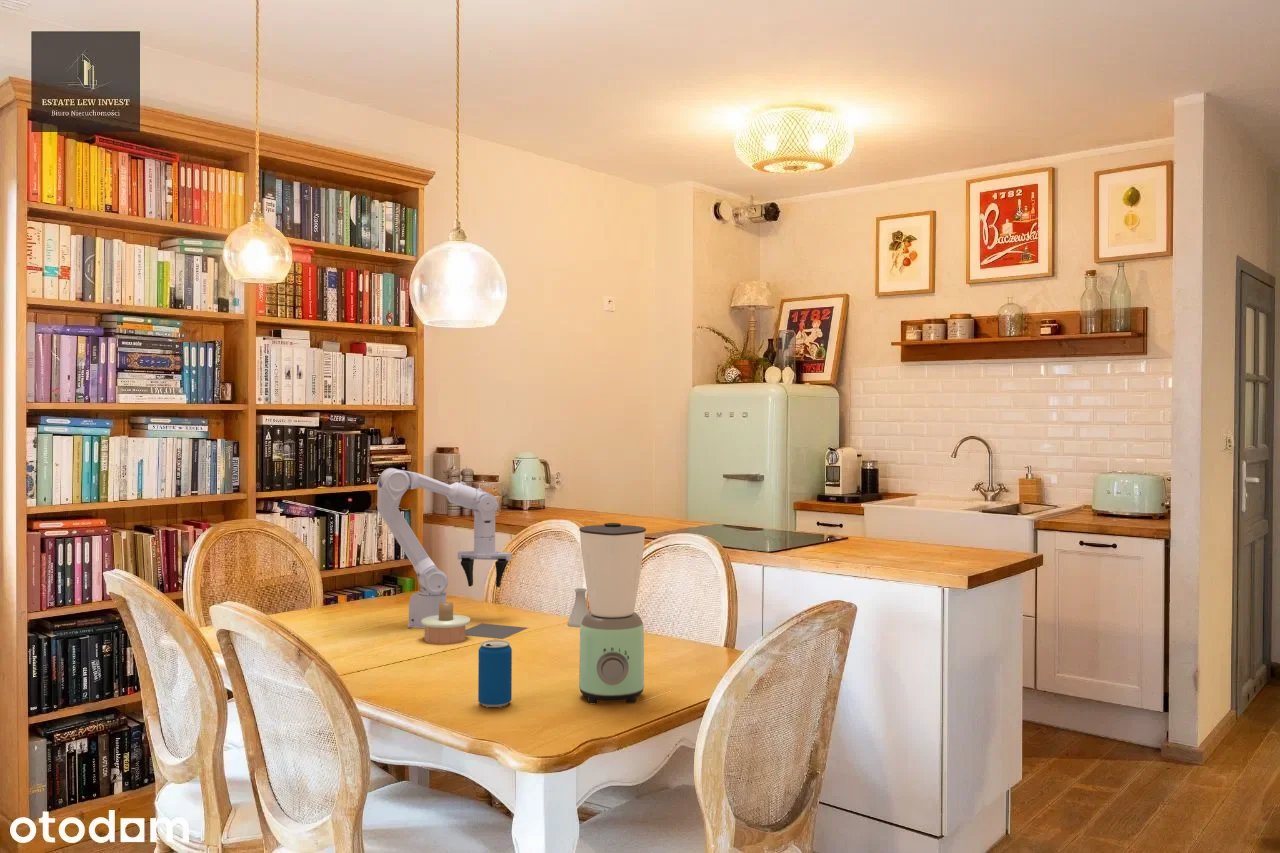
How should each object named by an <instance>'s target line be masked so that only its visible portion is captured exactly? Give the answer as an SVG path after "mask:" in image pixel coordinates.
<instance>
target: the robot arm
mask: <svg viewBox="0 0 1280 853" xmlns="http://www.w3.org/2000/svg"><path fill="white" fill-rule="evenodd" d="M376 486H377V487H376V490H377V495H376V496H377V498H376V499H377V500H376V501H377V504H376V506H377V511H378V512H377V513H378V514H379V515H380V516H381V518H382V520H383V521H384V523H385V524H386V525H387V528H388V529H389V531H390V532H391V533H392V536H393V537H394V539H395V540H396V542H397V543H398V544H399V546H400V548H401V549H402V551H403V552H404V554H405V556H407V559H408V560H409V562H410V564H411V565H412V566H413V567H412V568H413V570H414V571H415V573H416V575H417V576H416V578H417V582H418V584H419V585H420V589H419V590H418V591H417V592H413V593H412V594H411V595H410V598H409V601H408V625H406V628H410V629H411V628H412V629H414V628H417V629H425V626H424V625H422V624H421V620H422V619H423V618H426V617H429V616H435V615H439V603H442V602H447V590H446V589H447V587H448V585H449V579H448V576H447V575H446V573H445V572H443V571H442V570H440V569H439V568H438V566H437V565H436V564H435V562H434V561H433V560H432V559H431V558H430V556H429V554H428V553H427V551H426V550H425V549H424V547H423V545H422V543H421V542H420V540H419V539H418V537H417V536H416V534H415V532H414V531H413V529H412V528H411V526H410V525H409V523H408V521H407V520H406V518H405V517H404V515H403V513H402V512H401V511H400V509H399V506H400V504H401V500H402V497H403V496H404V494H405V493H406V492H407V491H408V490H415V489H423V490H427V491H431V492H433V493H436V494H439V495H443V496H445V497H446V499H447V500H448V502H449V503H451V504H454V505H457V506H460V507H462V508H465V509H468V510H473V511H474V518H473V519H474V520H473V551H470V550H469V551H458V552H457V560H461V561H460V566H461V567H462V570H463V571H464V573H465V577H466V580H467V584H468V587H473V586H474V565H475V564H474V563H475V560H484V561H485V560H486V561H487V560H488V561H489V560H490V561H491V560H493V561H495V572H496V573H495V576H496V577H495V587H496V588H499V587H501V586H502V585H501V584H502V580H503V579H502V578H503V575H504V572H505V570H506V567H507V566H508V563H509V561H512V552H508V551H507V552H506V551H496V511H498V508H499V502H498V500H497V498H496V496H495V495H494V494H492V493H489V492H486V491H485V490H483V489H482V488H479V487H477V488H475V487H471V486H469V485H467V483H466V482H464V481H460V482H457V481H455V482H453V483H452V484H448V483H445V482H443V481H441V480H438V479H435V478H432V477H429V476H427V475H424V474H421V473H418V472H416V471H415V472H414V471H409V470H402V469H398V468H394V467H388V468H386V469H384V470H383V471H382V472H381V474H380V476H379V478H378V481H377V483H376Z"/></svg>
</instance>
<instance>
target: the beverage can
mask: <svg viewBox="0 0 1280 853" xmlns="http://www.w3.org/2000/svg"><path fill="white" fill-rule="evenodd" d="M510 644H511V643H510V641H508V640H504V639H501V640H500V639H494V640H493V639H492V640H490V639H489V640H485V641H482V642H480V647H479V648H478V662H477V664H478V666H477V667H478V668H477V670H478V671H477V672H478V673H477V674H478V677H477V678H478V680H477V681H478V682H477V684H478V686H477V687H478V688H477V690H478V691H477V692H478V693H477V694H478V696H477V700H478V704H481V705H482V707H484V706H486V707H485V708H488V707H499V708H503V707H502V706H504V707H506V706H508V704H509V703H510V702H512V694H513V693H512V690H513V687H512V685H513V684H512V682H513V680H512V679H513V678H512V676H513V674H512V672H513V671H512V670H513V668H512V664H513V663H512V662H513V661H512V659H513V657H512V656H513V649H512V647H511V646H510ZM505 705H506V706H505Z"/></svg>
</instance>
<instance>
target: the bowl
mask: <svg viewBox="0 0 1280 853" xmlns="http://www.w3.org/2000/svg"><path fill="white" fill-rule="evenodd" d="M466 629H467V626H466V625H464V626H459V627H450V628H434V627H427V626H425V628H424V642H426V643H427V644H433V645H451V644H452V645H453V644H459V643H462V642H464V641H466V640H467V639H466V637H467V635H466Z"/></svg>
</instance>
